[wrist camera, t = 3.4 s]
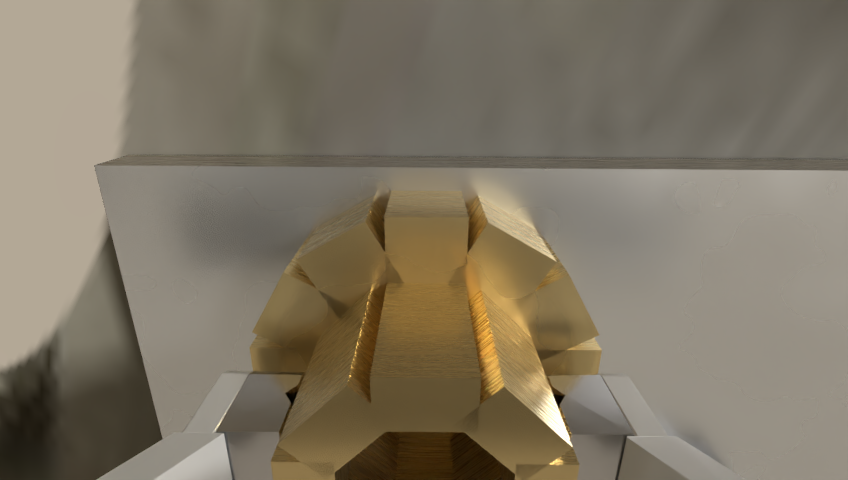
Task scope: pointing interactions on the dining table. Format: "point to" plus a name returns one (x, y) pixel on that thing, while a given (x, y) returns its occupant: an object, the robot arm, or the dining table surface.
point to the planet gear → (425, 345)
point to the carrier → (577, 251)
